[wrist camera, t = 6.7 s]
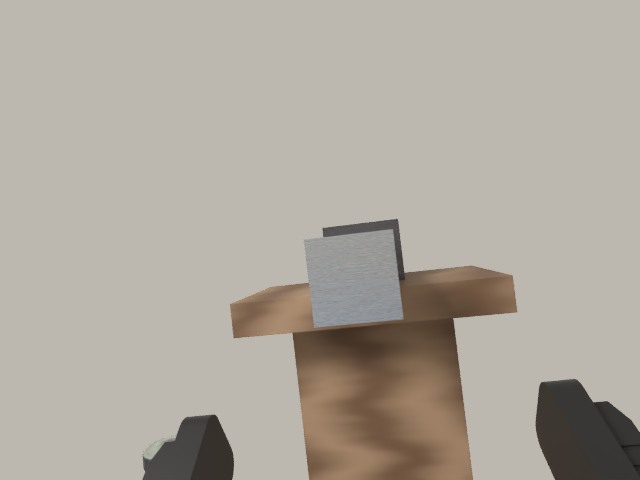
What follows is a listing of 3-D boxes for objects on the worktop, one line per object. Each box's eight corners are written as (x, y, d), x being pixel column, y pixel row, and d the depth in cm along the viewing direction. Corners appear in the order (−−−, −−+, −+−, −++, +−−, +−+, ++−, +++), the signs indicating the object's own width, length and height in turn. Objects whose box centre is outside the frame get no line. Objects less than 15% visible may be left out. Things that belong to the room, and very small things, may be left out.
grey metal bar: (285, 330, 15) (271, 214, 15) (337, 280, 34) (331, 230, 35) (434, 316, 14) (419, 195, 14) (399, 273, 34) (393, 223, 34)
